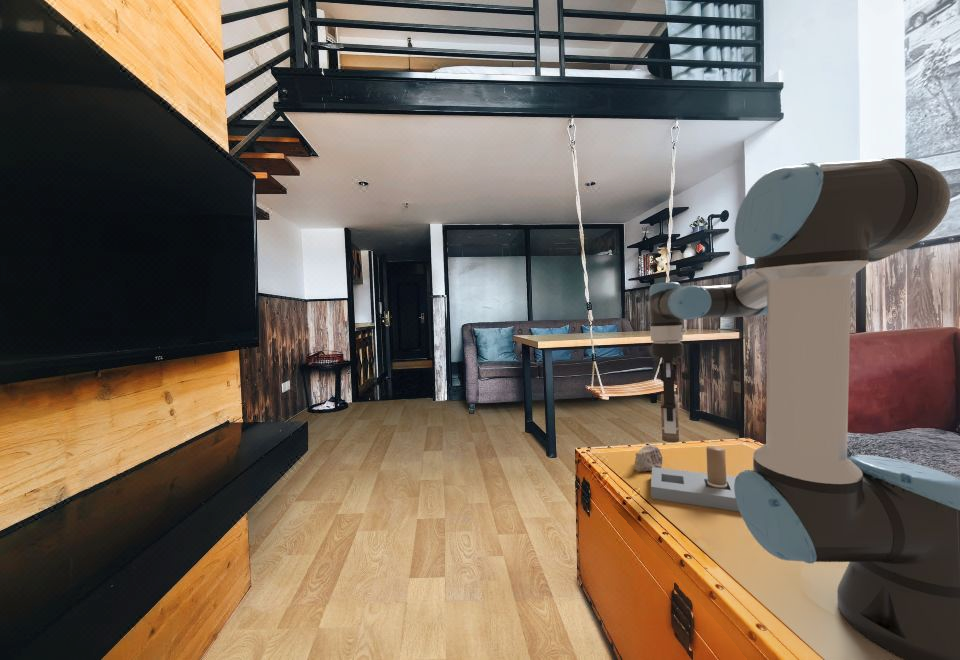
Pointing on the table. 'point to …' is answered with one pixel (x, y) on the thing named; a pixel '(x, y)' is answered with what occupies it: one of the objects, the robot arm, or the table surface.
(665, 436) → the dowel
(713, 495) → the board
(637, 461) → the mineral specimen
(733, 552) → the table surface
